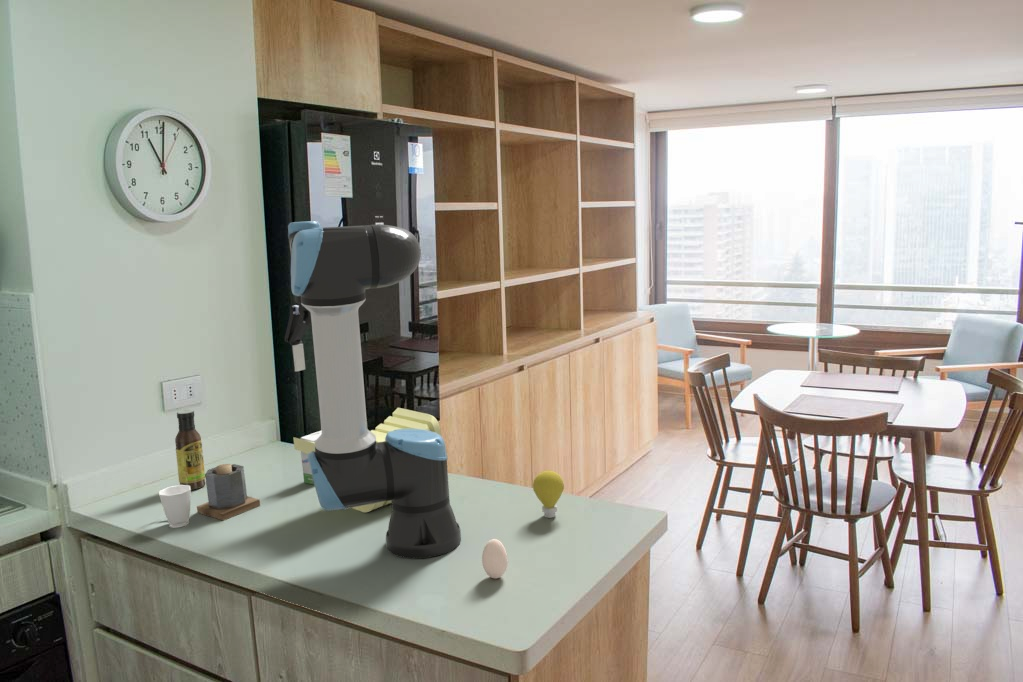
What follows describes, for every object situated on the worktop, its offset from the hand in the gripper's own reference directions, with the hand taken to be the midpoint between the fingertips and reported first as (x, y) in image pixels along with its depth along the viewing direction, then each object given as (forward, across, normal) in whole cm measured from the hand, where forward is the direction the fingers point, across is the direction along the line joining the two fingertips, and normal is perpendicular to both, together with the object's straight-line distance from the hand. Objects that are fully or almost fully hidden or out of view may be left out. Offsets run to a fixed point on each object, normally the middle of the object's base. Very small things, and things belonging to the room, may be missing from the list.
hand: (318, 372), depth 196 cm
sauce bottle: (+29, +31, +18) cm, 46 cm away
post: (+29, +9, +23) cm, 38 cm away
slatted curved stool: (+29, -18, +2) cm, 34 cm away
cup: (+29, +13, +34) cm, 46 cm away
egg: (+29, -67, +20) cm, 76 cm away
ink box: (+29, +5, -2) cm, 29 cm away
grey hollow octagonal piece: (+27, +9, +23) cm, 37 cm away
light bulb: (+29, -60, -9) cm, 67 cm away
